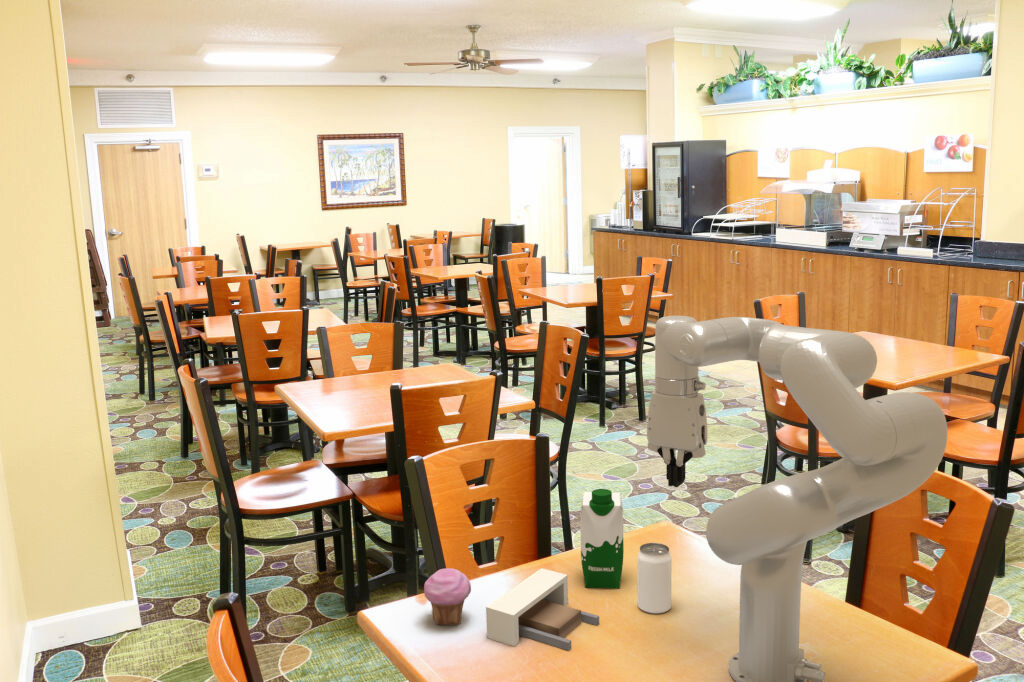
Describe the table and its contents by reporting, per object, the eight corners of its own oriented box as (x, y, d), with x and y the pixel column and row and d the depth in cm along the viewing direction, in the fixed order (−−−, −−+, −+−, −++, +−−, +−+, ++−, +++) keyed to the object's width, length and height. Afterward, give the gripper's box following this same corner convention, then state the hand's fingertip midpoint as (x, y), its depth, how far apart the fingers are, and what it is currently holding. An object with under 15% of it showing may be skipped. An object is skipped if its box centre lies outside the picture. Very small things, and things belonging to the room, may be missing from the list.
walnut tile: (581, 625, 162) (581, 610, 162) (559, 644, 156) (559, 628, 155) (532, 610, 169) (531, 596, 168) (509, 628, 162) (508, 613, 162)
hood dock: (608, 615, 165) (608, 585, 164) (557, 660, 150) (556, 628, 149) (542, 596, 173) (541, 568, 172) (487, 637, 158) (485, 607, 157)
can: (670, 616, 164) (671, 556, 162) (636, 613, 166) (636, 554, 163) (671, 600, 170) (671, 542, 168) (638, 597, 172) (638, 540, 170)
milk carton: (580, 589, 176) (579, 496, 172) (581, 570, 185) (580, 480, 181) (624, 590, 175) (623, 496, 171) (623, 571, 184) (622, 481, 180)
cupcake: (422, 632, 161) (420, 581, 159) (428, 609, 169) (426, 561, 167) (470, 631, 160) (468, 581, 159) (473, 609, 169) (472, 561, 167)
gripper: (724, 386, 152) (723, 485, 156) (647, 377, 161) (646, 472, 164) (708, 394, 146) (707, 498, 150) (629, 385, 155) (629, 483, 158)
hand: (675, 484), depth 157 cm, fingers closed
